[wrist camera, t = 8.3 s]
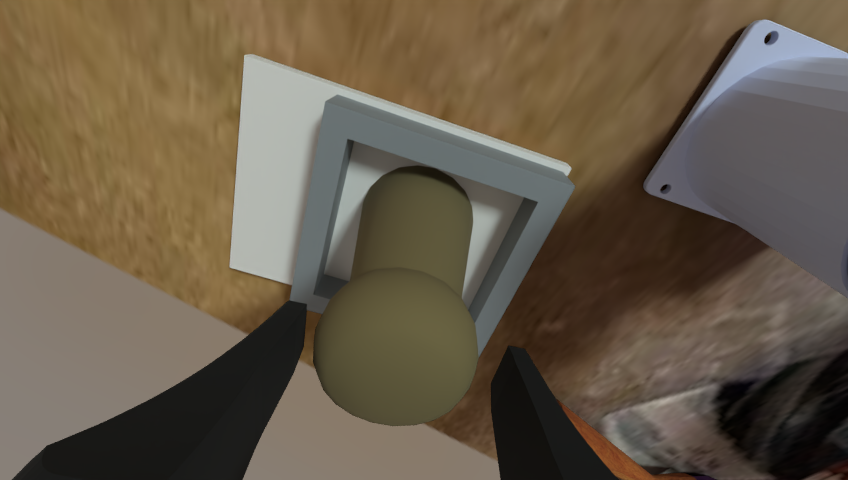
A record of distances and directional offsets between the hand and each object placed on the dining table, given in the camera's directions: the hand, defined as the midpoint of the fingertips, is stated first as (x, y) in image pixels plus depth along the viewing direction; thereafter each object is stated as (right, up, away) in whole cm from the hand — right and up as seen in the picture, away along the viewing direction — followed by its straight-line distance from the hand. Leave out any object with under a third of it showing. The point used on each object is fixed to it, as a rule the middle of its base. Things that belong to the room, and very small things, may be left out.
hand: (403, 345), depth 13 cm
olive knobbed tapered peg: (0, +5, +7) cm, 9 cm away
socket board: (-1, +5, +8) cm, 9 cm away
